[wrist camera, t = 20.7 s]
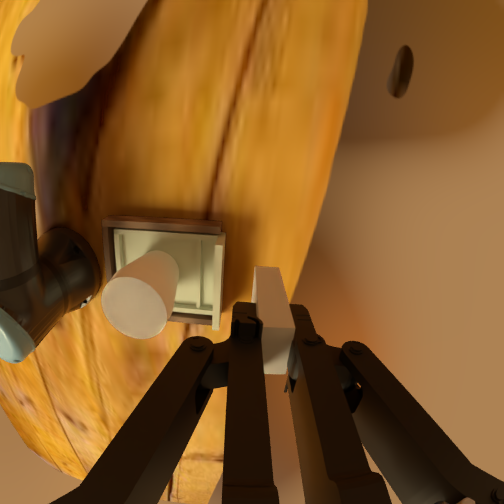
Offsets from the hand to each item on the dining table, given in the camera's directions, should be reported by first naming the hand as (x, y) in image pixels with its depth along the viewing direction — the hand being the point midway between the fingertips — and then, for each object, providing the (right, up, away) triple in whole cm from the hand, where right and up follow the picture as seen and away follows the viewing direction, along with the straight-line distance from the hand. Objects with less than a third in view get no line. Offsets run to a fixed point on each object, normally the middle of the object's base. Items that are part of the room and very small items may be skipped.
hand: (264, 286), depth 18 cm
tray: (-14, 0, +25) cm, 29 cm away
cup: (-15, -1, +25) cm, 29 cm away
